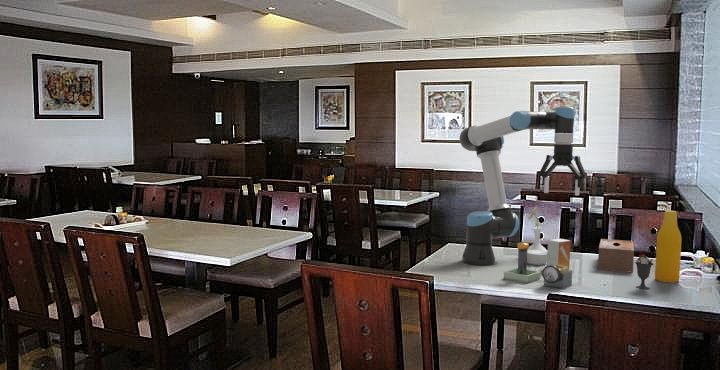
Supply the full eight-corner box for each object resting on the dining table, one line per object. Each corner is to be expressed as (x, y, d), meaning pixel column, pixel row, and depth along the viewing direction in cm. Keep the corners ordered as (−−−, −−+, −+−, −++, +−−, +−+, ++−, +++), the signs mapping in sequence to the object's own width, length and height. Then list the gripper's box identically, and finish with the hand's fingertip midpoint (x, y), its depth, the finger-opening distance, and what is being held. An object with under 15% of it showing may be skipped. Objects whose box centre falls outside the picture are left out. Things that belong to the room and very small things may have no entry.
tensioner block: (540, 286, 246) (540, 264, 245) (552, 281, 254) (553, 260, 253) (559, 290, 240) (560, 267, 240) (571, 285, 249) (572, 263, 248)
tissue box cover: (599, 259, 303) (600, 238, 302) (632, 261, 297) (633, 241, 296) (597, 269, 279) (598, 247, 278) (632, 273, 273) (634, 250, 273)
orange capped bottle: (514, 276, 258) (515, 243, 257) (519, 274, 262) (520, 242, 260) (524, 278, 255) (525, 245, 254) (529, 276, 259) (530, 243, 257)
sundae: (630, 286, 249) (631, 248, 248) (646, 285, 249) (648, 248, 248) (638, 290, 242) (640, 252, 241) (655, 290, 243) (657, 252, 242)
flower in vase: (529, 252, 315) (531, 203, 312) (551, 255, 308) (553, 205, 306) (519, 256, 304) (521, 206, 302) (542, 260, 297) (544, 208, 295)
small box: (557, 271, 274) (559, 242, 273) (546, 268, 279) (547, 239, 278) (569, 269, 278) (571, 240, 277) (558, 266, 283) (559, 238, 282)
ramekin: (544, 266, 283) (545, 255, 283) (520, 263, 289) (520, 252, 289) (551, 262, 293) (551, 251, 292) (527, 259, 299) (528, 248, 298)
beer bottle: (675, 278, 263) (679, 210, 260) (682, 283, 254) (686, 213, 251) (652, 277, 265) (655, 209, 262) (657, 282, 256) (661, 212, 253)
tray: (503, 278, 258) (503, 271, 258) (516, 274, 266) (516, 267, 266) (528, 283, 251) (528, 276, 251) (540, 278, 259) (540, 271, 259)
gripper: (596, 144, 257) (594, 195, 258) (539, 143, 273) (538, 191, 275) (589, 144, 251) (586, 197, 253) (531, 143, 268) (530, 192, 270)
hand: (561, 194), depth 264 cm, fingers open, 13 cm apart
